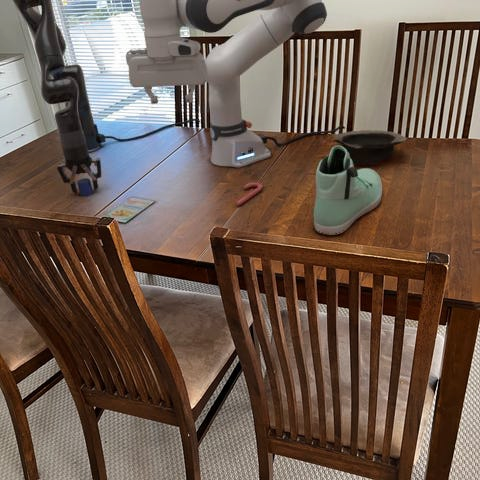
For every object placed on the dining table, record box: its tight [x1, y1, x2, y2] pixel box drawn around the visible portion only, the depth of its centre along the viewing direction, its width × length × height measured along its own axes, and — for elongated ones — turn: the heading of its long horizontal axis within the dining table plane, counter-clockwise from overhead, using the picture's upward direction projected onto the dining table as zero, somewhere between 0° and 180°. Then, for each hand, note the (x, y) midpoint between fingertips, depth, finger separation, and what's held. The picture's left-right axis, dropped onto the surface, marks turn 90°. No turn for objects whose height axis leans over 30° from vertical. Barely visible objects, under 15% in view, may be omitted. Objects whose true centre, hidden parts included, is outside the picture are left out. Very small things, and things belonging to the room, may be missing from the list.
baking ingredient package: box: [104, 197, 155, 223], centre depth 147 cm, size 9×1×15 cm
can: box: [76, 177, 94, 197], centre depth 160 cm, size 4×4×5 cm
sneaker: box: [313, 145, 383, 236], centre depth 133 cm, size 14×35×20 cm, turn 152°
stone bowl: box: [332, 130, 407, 166], centre depth 168 cm, size 25×25×9 cm
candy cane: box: [235, 181, 263, 207], centre depth 150 cm, size 6×15×2 cm, turn 145°
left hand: (86, 191), depth 161 cm, fingers open, 5 cm apart
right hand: (172, 102), depth 127 cm, fingers open, 8 cm apart
